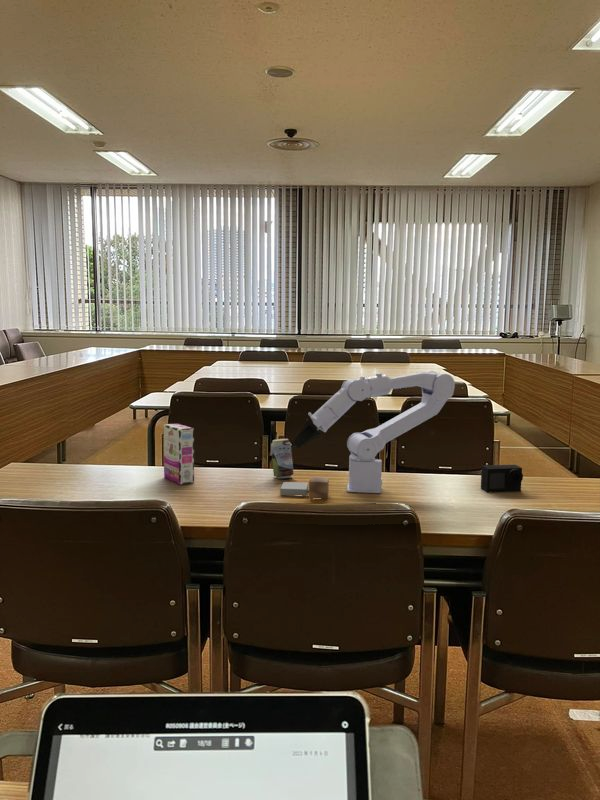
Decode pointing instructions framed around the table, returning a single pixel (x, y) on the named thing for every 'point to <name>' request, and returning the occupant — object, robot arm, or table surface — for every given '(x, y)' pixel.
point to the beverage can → (282, 458)
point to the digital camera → (501, 478)
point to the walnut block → (318, 487)
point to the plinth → (294, 488)
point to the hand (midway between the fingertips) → (295, 445)
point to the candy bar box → (179, 453)
